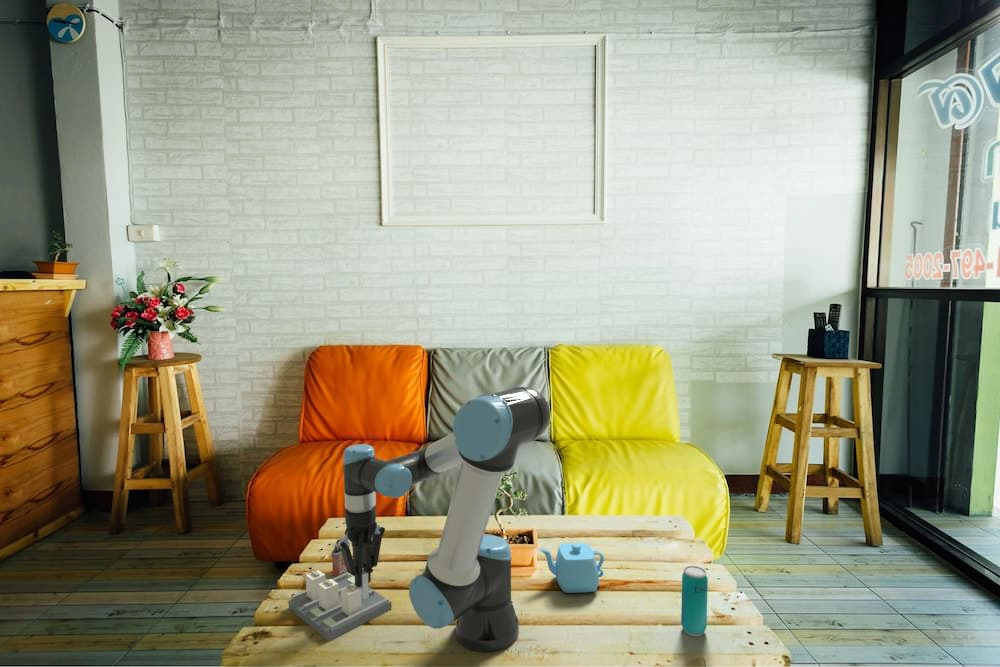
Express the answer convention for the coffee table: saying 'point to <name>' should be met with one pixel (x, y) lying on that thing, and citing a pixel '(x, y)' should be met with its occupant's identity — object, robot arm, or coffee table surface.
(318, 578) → the white hollow block
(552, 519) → the coffee table surface
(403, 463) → the robot arm
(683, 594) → the beverage can
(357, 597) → the white hollow block
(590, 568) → the teapot
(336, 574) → the lighter
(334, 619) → the grey slotted block holder
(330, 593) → the white rectangular block
